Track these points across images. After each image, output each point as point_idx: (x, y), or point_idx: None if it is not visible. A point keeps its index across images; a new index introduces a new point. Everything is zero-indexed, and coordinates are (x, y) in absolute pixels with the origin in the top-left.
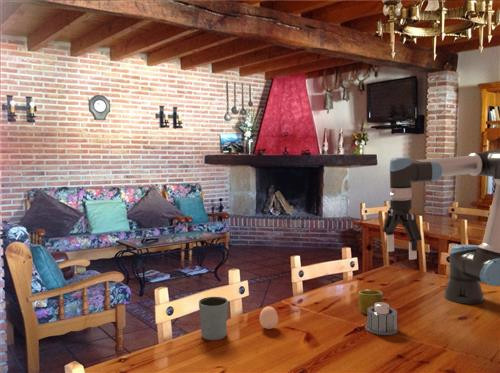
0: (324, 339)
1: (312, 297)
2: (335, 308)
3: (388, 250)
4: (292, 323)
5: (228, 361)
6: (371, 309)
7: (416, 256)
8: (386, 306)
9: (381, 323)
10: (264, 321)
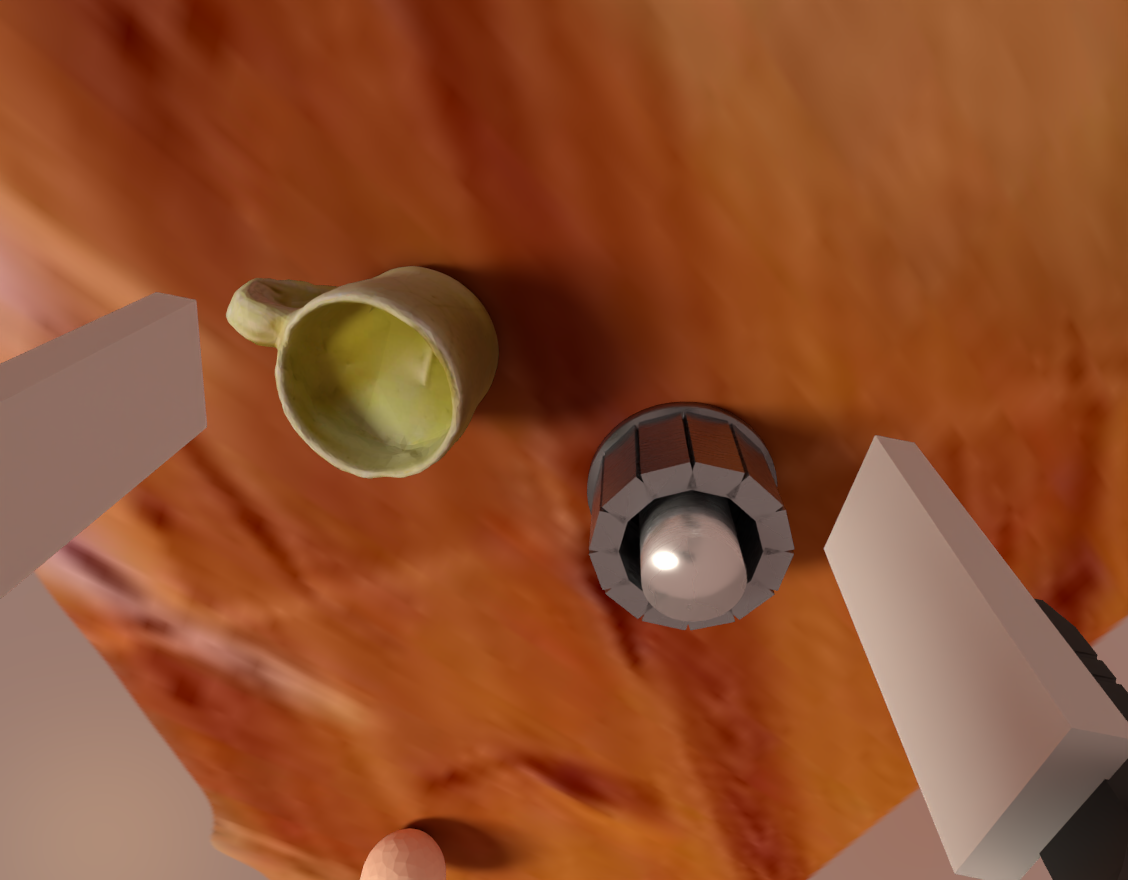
0: (622, 750)
1: None
2: (281, 483)
3: (193, 434)
4: (403, 752)
5: None
6: (635, 587)
7: (932, 472)
8: (740, 582)
9: None
10: None
